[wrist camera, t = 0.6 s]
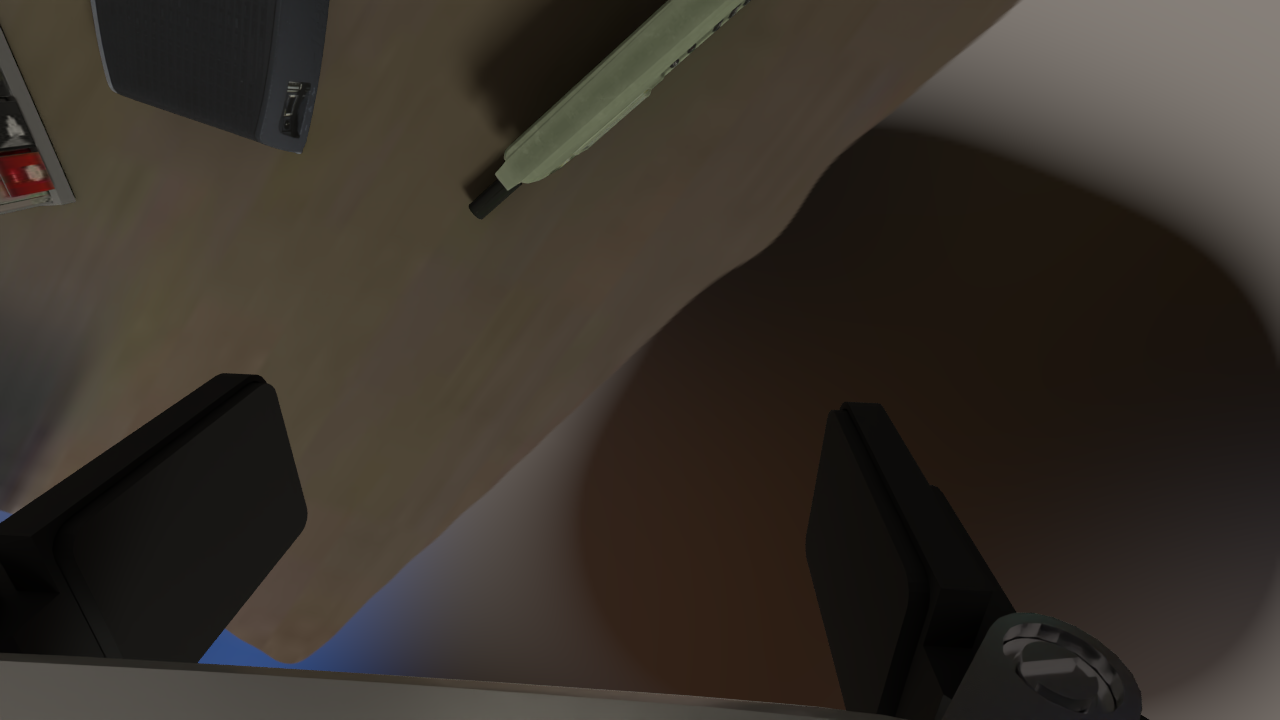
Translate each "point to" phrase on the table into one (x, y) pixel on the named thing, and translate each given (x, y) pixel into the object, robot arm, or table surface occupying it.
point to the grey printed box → (25, 147)
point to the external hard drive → (219, 61)
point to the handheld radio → (606, 94)
